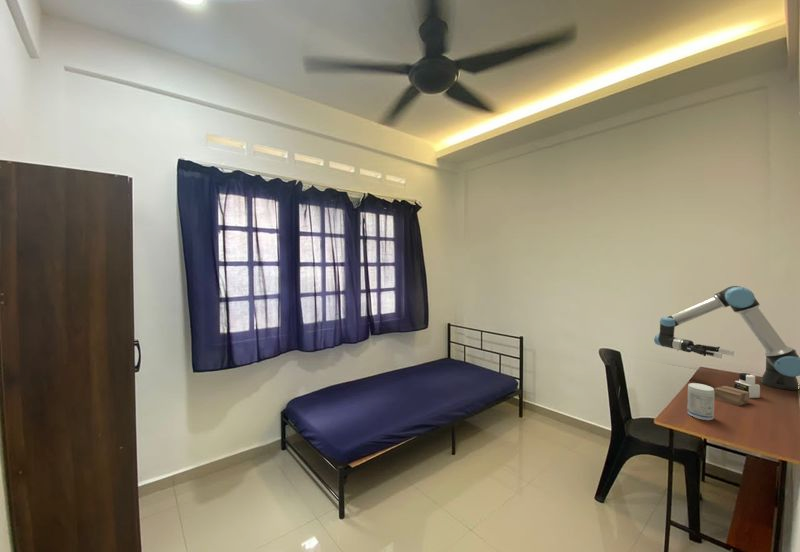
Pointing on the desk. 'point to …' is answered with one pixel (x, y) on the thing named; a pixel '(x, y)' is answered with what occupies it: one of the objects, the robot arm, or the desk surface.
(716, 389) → the walnut block
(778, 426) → the desk surface
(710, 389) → the supplement tub
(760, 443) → the desk surface
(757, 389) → the medicine bottle
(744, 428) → the desk surface
